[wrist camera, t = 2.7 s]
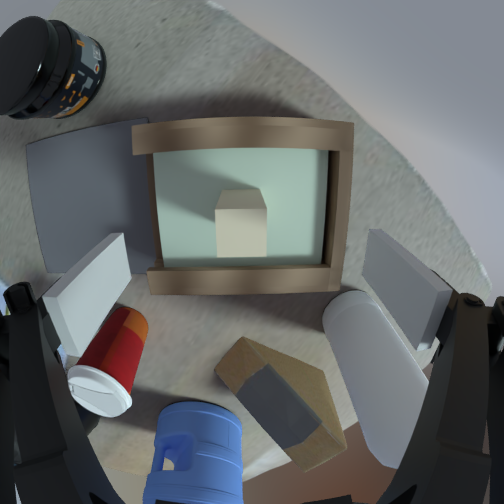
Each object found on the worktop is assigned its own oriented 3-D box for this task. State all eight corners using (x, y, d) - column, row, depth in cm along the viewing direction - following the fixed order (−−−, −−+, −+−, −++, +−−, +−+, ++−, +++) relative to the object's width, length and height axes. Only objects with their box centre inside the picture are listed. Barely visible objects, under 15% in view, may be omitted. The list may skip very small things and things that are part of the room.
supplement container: (41, 127, 25) (-26, 134, 14) (45, 53, 21) (-15, 38, 10) (109, 109, 25) (44, 102, 14) (114, 29, 21) (61, -8, 10)
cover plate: (167, 272, 27) (145, 317, 20) (155, 137, 22) (119, 139, 15) (317, 269, 28) (341, 313, 21) (326, 135, 23) (360, 135, 16)
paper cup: (104, 333, 36) (66, 402, 23) (108, 292, 34) (59, 362, 21) (152, 351, 38) (127, 427, 25) (161, 312, 35) (131, 393, 22)
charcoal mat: (49, 271, 32) (47, 272, 32) (27, 144, 25) (26, 145, 25) (161, 272, 33) (160, 273, 32) (148, 117, 26) (146, 117, 25)
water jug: (255, 411, 44) (264, 557, 18) (224, 446, 49) (223, 560, 23) (169, 388, 41) (141, 544, 15) (153, 427, 46) (131, 545, 20)
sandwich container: (241, 333, 37) (243, 426, 23) (325, 369, 41) (349, 448, 27) (211, 369, 40) (204, 455, 26) (291, 399, 43) (304, 474, 29)
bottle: (312, 307, 35) (390, 544, 8) (365, 278, 34) (497, 486, 7) (332, 344, 38) (399, 539, 11) (380, 319, 37) (479, 498, 9)
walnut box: (167, 262, 32) (150, 294, 25) (157, 128, 26) (131, 125, 20) (320, 259, 33) (339, 290, 26) (327, 125, 27) (353, 122, 20)
